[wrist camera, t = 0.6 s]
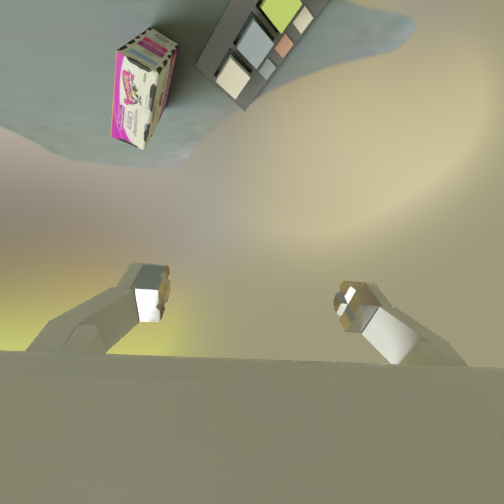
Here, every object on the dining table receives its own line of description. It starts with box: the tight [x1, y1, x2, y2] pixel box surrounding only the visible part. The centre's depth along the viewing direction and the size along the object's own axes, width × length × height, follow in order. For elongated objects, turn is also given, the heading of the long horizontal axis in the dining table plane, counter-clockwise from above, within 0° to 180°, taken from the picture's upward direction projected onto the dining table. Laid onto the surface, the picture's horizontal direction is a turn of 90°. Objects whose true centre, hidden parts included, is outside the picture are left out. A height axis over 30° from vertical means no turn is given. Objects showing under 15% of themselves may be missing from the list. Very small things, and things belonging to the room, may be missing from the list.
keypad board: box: [195, 0, 328, 111], centre depth 37 cm, size 23×11×2 cm, turn 139°
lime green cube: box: [260, 0, 302, 34], centre depth 33 cm, size 4×4×4 cm
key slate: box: [236, 18, 274, 69], centre depth 36 cm, size 4×4×4 cm
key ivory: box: [216, 54, 250, 99], centre depth 40 cm, size 4×4×4 cm
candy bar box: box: [111, 27, 179, 150], centre depth 36 cm, size 11×5×16 cm, turn 152°
